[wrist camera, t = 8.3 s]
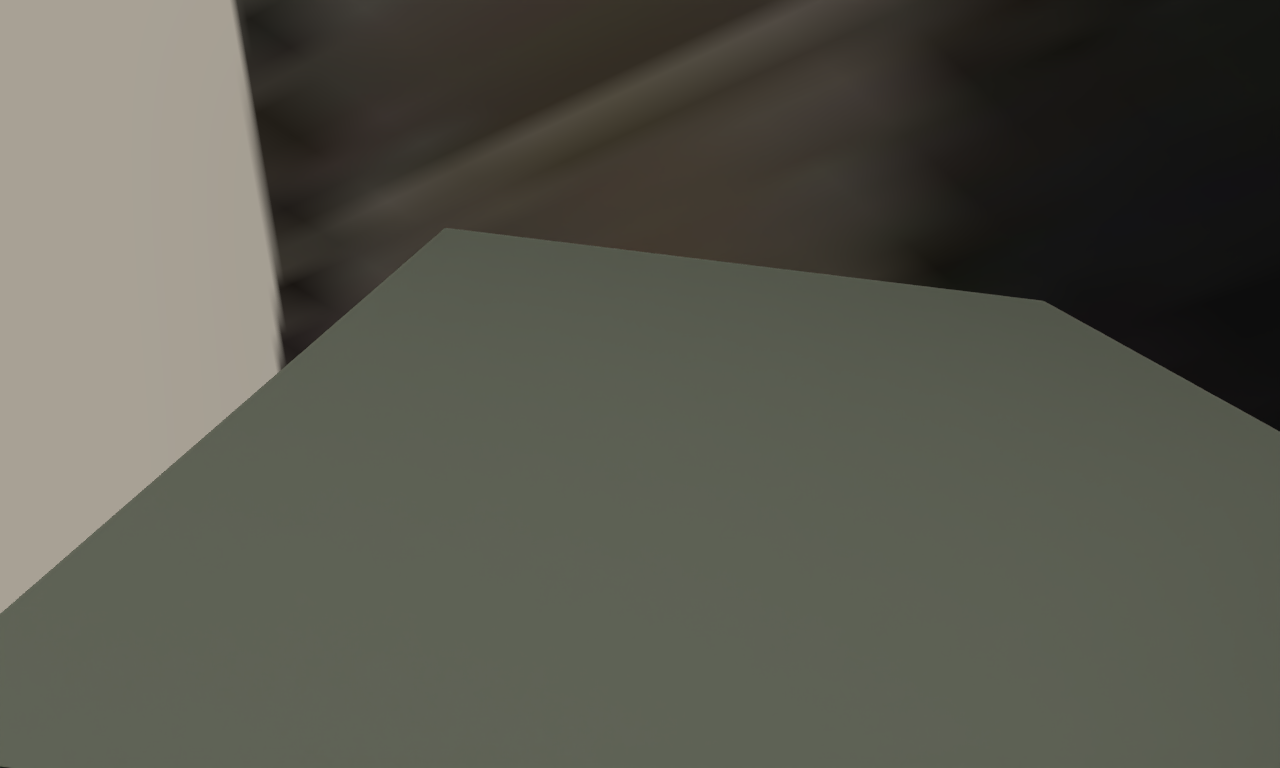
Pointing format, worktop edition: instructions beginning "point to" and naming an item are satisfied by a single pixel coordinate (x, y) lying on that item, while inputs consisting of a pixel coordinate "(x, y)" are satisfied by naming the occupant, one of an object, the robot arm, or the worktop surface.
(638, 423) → the sage green lidded box
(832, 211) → the worktop surface
